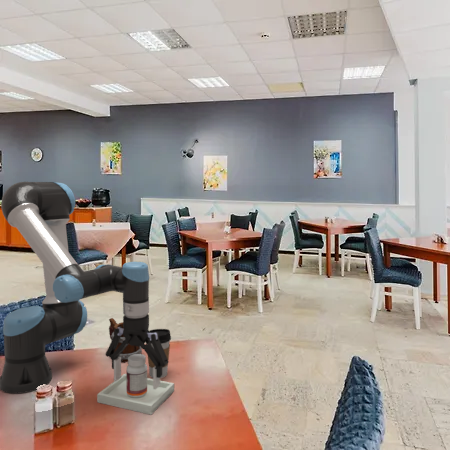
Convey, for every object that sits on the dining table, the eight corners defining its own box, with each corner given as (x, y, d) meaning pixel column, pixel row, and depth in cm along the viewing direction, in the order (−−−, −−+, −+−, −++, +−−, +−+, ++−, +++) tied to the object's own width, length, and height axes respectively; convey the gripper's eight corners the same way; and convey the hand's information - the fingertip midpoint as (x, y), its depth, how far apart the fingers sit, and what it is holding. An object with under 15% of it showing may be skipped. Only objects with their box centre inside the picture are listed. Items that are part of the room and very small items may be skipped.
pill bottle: (128, 388, 124) (127, 353, 123) (148, 387, 125) (148, 352, 124) (125, 398, 118) (124, 361, 117) (146, 398, 119) (146, 361, 118)
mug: (126, 365, 141) (120, 323, 141) (100, 362, 150) (95, 322, 150) (150, 354, 151) (145, 315, 151) (125, 351, 159) (120, 314, 159)
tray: (97, 402, 118) (97, 394, 118) (124, 380, 131) (124, 373, 131) (151, 414, 112) (151, 406, 112) (174, 390, 125) (174, 383, 125)
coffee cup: (166, 381, 131) (165, 337, 129) (141, 378, 133) (141, 334, 131) (174, 370, 139) (174, 328, 138) (151, 367, 141) (151, 326, 139)
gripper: (93, 313, 120) (94, 381, 122) (167, 323, 111) (167, 396, 113) (108, 306, 127) (109, 370, 129) (179, 315, 118) (179, 384, 120)
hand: (136, 383), depth 121 cm, fingers open, 13 cm apart
